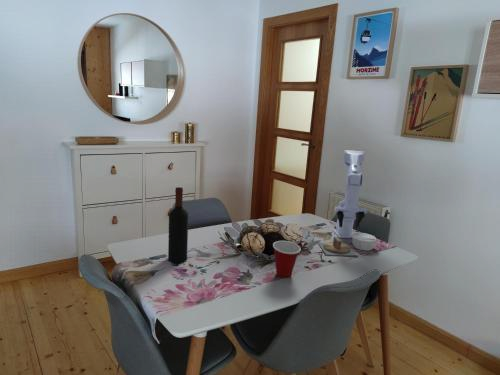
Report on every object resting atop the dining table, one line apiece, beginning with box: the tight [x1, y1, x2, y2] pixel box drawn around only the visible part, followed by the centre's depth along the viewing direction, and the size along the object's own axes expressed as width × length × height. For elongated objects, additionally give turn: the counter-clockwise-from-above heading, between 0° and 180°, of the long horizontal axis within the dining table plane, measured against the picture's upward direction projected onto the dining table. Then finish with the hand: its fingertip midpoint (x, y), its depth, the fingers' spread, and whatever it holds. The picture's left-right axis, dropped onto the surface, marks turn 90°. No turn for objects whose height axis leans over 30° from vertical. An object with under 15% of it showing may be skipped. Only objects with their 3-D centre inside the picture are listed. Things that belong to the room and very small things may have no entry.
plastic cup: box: [272, 240, 302, 279], centre depth 145 cm, size 11×11×12 cm
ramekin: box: [351, 232, 377, 252], centre depth 180 cm, size 11×11×5 cm
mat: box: [317, 242, 357, 257], centre depth 175 cm, size 14×14×1 cm
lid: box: [323, 236, 351, 254], centre depth 175 cm, size 12×12×5 cm
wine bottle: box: [167, 186, 189, 264], centre depth 150 cm, size 8×8×30 cm
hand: (348, 226), depth 176 cm, fingers open, 7 cm apart
